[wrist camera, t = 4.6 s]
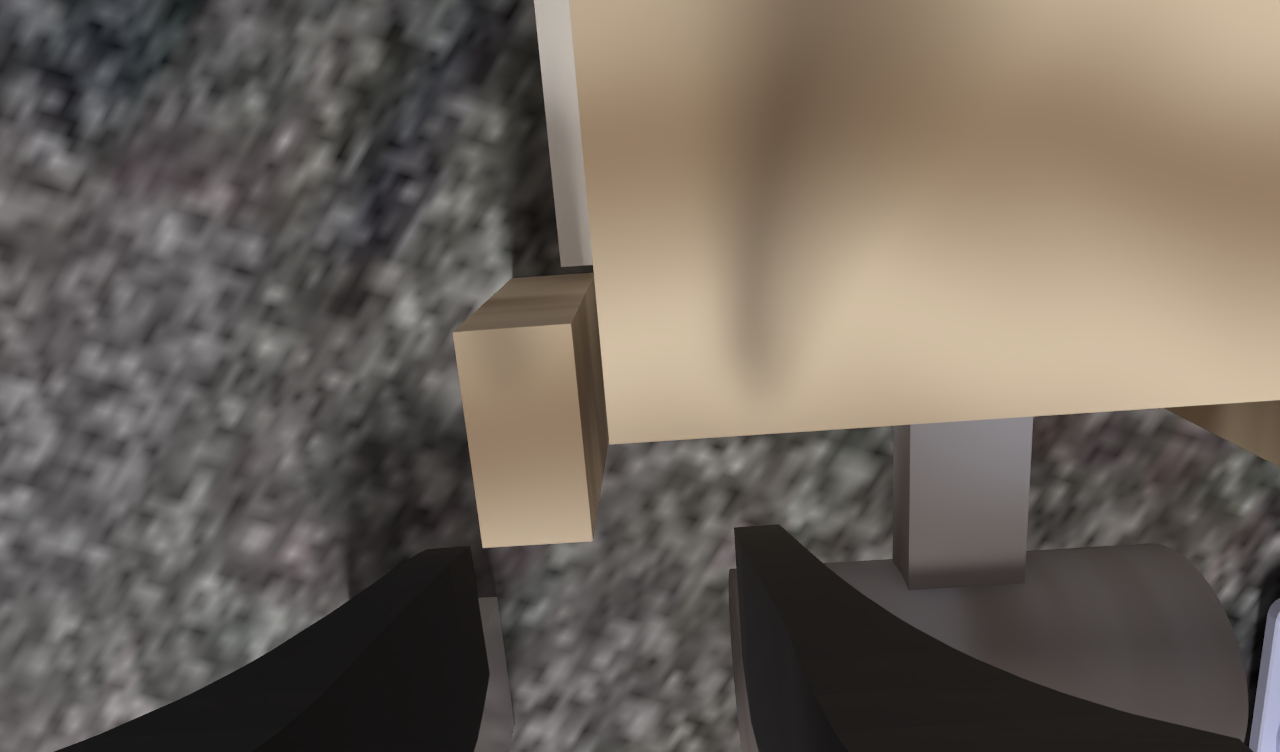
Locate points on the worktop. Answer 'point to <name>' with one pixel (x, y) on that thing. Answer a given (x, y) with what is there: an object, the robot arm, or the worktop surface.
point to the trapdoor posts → (576, 411)
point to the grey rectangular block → (495, 684)
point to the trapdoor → (948, 281)
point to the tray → (563, 131)
